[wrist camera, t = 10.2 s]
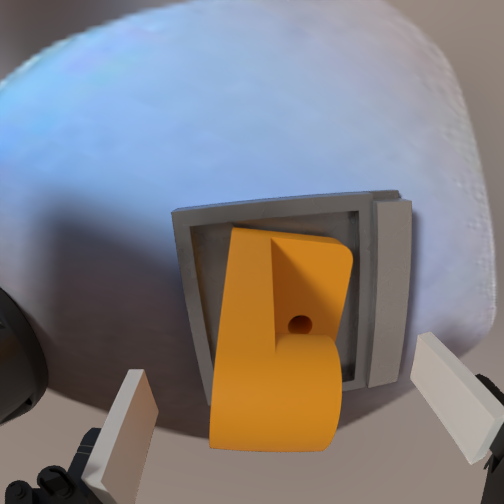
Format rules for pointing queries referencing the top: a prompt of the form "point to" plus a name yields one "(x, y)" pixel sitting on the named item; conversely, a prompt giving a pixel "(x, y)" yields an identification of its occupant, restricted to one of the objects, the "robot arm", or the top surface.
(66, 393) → the top surface
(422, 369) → the robot arm
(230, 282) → the bracket
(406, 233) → the tray
